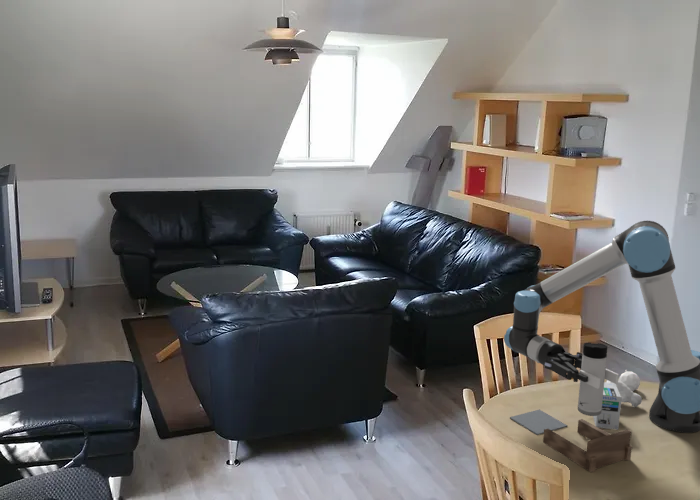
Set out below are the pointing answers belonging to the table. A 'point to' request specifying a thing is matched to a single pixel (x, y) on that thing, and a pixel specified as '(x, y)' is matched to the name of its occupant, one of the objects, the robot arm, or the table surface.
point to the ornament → (630, 380)
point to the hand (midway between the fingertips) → (608, 381)
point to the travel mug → (595, 366)
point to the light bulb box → (609, 408)
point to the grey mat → (538, 421)
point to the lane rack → (592, 446)
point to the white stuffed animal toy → (628, 394)
